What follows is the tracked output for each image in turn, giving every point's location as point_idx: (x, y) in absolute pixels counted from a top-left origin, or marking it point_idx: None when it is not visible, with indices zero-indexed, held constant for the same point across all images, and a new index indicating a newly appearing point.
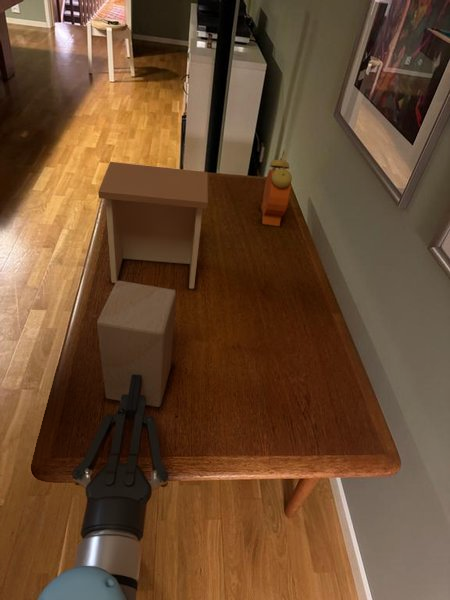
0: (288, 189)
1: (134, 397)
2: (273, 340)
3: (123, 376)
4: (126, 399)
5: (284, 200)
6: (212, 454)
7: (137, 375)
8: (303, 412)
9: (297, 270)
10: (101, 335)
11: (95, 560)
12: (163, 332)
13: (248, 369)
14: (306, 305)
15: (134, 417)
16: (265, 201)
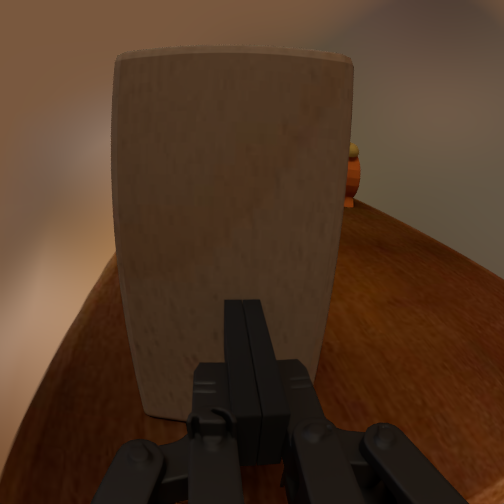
0: (357, 161)
1: (260, 363)
2: (436, 288)
3: (191, 322)
4: (221, 379)
5: (356, 172)
6: (479, 489)
7: (246, 300)
8: None
9: (401, 232)
10: (121, 110)
11: None
12: (351, 61)
13: (435, 326)
14: (438, 255)
15: (273, 454)
16: None
